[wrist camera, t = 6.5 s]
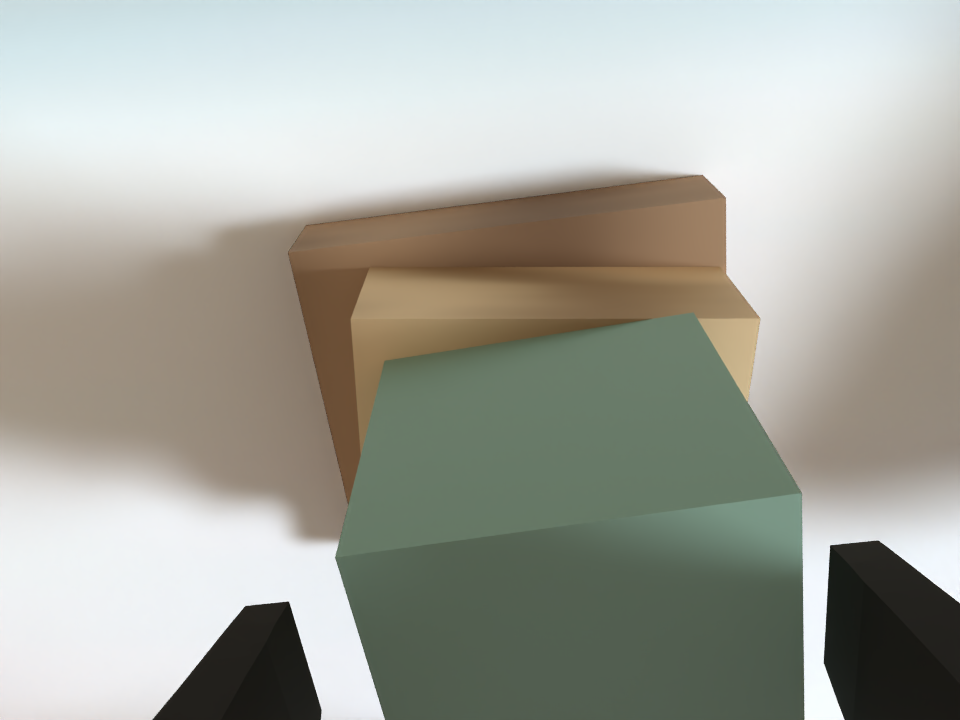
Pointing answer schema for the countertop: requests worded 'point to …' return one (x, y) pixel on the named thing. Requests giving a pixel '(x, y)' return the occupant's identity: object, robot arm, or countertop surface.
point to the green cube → (575, 535)
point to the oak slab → (534, 311)
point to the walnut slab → (490, 260)
